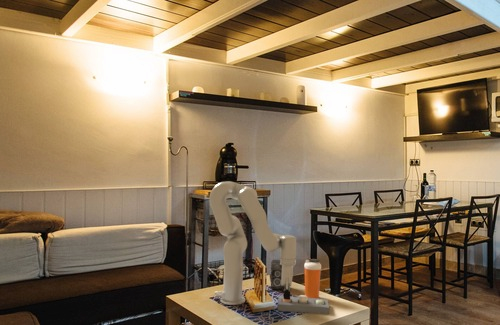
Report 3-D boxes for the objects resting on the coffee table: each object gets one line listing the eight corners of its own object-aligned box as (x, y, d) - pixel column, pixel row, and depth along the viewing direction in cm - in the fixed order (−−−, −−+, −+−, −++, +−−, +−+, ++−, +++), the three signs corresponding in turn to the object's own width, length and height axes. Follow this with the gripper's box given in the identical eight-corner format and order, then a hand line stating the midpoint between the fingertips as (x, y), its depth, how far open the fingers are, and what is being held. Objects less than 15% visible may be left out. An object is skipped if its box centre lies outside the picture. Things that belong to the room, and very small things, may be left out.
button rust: (282, 306, 197) (282, 299, 197) (282, 303, 201) (282, 297, 201) (290, 307, 197) (290, 300, 197) (290, 304, 201) (290, 297, 201)
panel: (277, 310, 194) (277, 304, 194) (278, 301, 205) (278, 296, 205) (329, 314, 191) (329, 307, 191) (327, 305, 203) (327, 299, 203)
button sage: (315, 308, 196) (315, 302, 196) (315, 305, 200) (315, 299, 200) (324, 309, 195) (324, 302, 195) (323, 306, 199) (323, 299, 199)
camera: (267, 290, 223) (268, 263, 223) (270, 285, 234) (270, 258, 234) (286, 292, 221) (287, 264, 221) (288, 286, 232) (289, 260, 232)
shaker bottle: (320, 301, 208) (321, 262, 208) (302, 299, 210) (303, 260, 210) (320, 295, 217) (321, 258, 217) (303, 294, 219) (305, 256, 219)
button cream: (299, 304, 196) (299, 297, 196) (298, 301, 200) (299, 294, 200) (307, 304, 196) (307, 298, 196) (307, 301, 200) (307, 295, 200)
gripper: (280, 257, 207) (279, 293, 207) (279, 264, 192) (278, 303, 192) (295, 258, 206) (294, 294, 206) (295, 265, 191) (294, 304, 191)
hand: (286, 298), depth 199 cm, fingers closed
